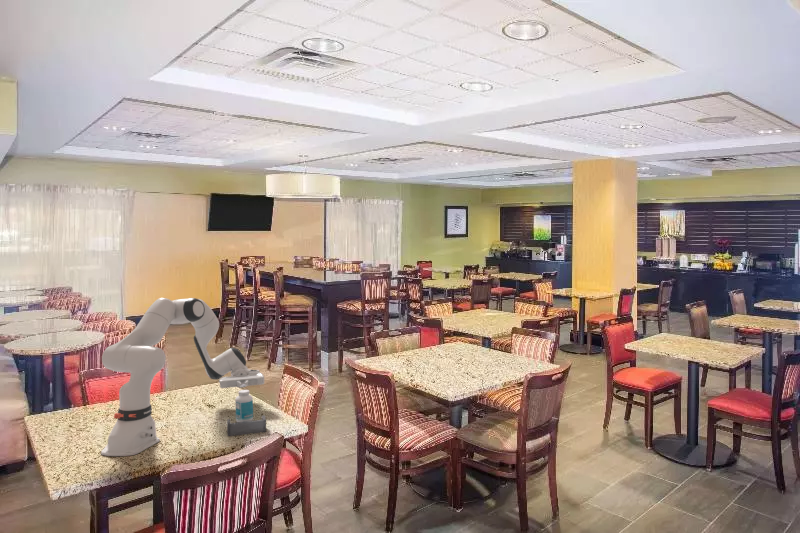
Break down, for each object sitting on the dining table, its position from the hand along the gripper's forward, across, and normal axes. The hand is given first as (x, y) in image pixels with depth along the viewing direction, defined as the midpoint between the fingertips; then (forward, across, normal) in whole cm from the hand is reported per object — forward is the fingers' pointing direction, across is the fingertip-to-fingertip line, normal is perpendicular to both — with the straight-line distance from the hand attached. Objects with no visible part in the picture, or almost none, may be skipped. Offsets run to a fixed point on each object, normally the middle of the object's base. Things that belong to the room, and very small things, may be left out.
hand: (243, 385), depth 256 cm
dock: (+23, 0, +14) cm, 27 cm away
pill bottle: (+9, 0, +14) cm, 16 cm away
